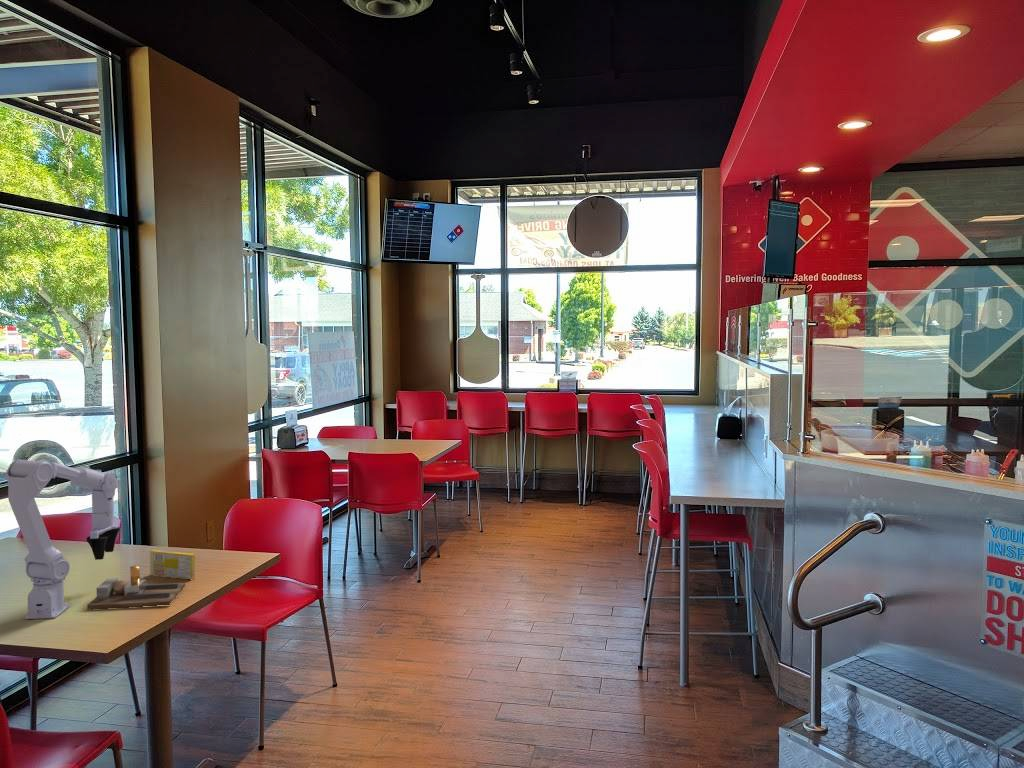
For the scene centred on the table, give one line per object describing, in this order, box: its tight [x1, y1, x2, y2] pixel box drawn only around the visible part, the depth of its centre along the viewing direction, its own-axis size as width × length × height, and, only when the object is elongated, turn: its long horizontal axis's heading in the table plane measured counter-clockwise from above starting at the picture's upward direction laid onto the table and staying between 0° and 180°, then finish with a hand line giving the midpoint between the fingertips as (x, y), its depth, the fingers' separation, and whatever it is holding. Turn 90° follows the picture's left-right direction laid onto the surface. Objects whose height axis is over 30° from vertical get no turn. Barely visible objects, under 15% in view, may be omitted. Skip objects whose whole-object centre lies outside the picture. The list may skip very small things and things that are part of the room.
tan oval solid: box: [113, 580, 129, 594], centre depth 216 cm, size 4×4×4 cm
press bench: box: [86, 577, 186, 611], centre depth 217 cm, size 16×22×5 cm
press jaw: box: [124, 565, 147, 596], centre depth 216 cm, size 6×4×8 cm, turn 9°
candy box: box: [149, 549, 196, 580], centre depth 236 cm, size 16×2×8 cm, turn 74°
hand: (104, 555), depth 224 cm, fingers open, 7 cm apart
